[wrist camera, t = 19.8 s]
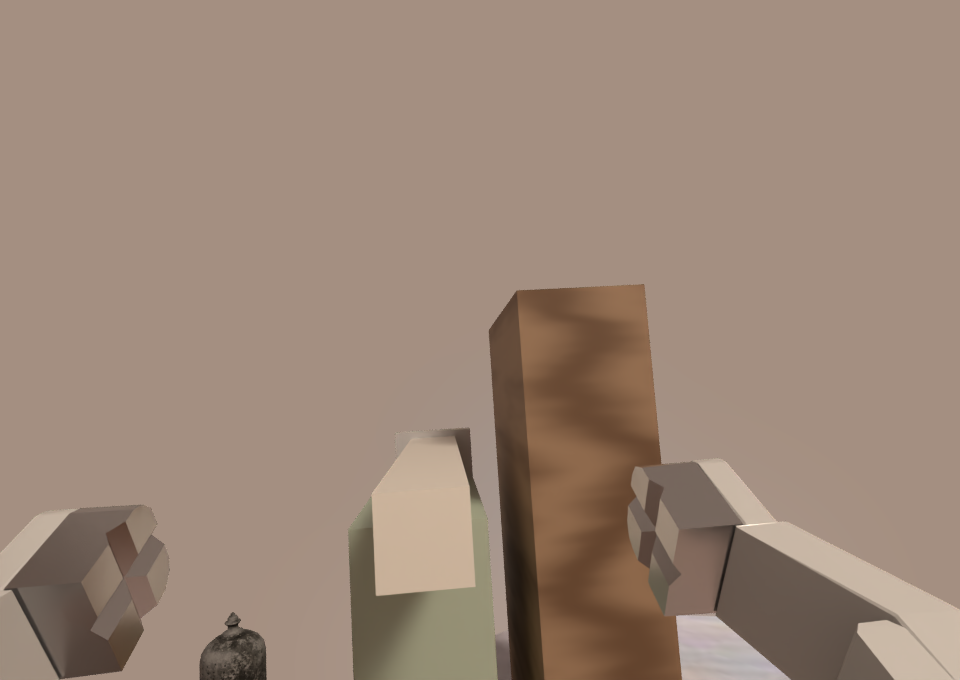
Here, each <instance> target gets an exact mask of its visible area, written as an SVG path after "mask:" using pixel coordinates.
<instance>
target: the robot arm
mask: <svg viewBox="0 0 960 680" xmlns="http://www.w3.org/2000/svg"><path fill="white" fill-rule="evenodd" d="M631 487H632V489H633V490H634V492H635V494H636V497H635V499H634V500H633V501H632V502H631V503H630V504H629V505H628V516H627V524H628V532H629V538H630V541H631V545H632V548H633V551H634V553H635V555H636V557H637V560H638V561H639V562H641V563H642V564H643V565H645V566H646V567H648V568H649V569H650V571H649V578H648V583H649V585H650V588H651V590H652V592H653V594H654V596H655V598H656V600H657V602H658V604H659V607H660V609H661V611H662V613H663V615H664V616H678V615H692V614H706V613H716V616H717V617H718V618H719V619H720V620H721V621H723V622H724V623H725V624H726V625H727V626H729V627H730V628H731V629H732V630H733V631H734V632H736V633H737V634H738V635H739V636H740V637H742V638H743V639H744V640H745V641H746V642H747V643H749V644H750V645H751V646H752V647H753V648H755V649H756V650H757V651H758V652H759V653H760V654H762V655H763V656H764V657H765V658H766V659H768V660H769V661H770V662H771V663H772V664H773V665H775V666H776V667H777V668H778V669H779V670H781V671H782V672H783V673H784V674H785V675H786V676H788V677H789V678H790V679H791V680H960V609H958V608H956V607H954V606H952V605H950V604H948V603H946V602H944V601H942V600H940V599H938V598H936V597H934V596H932V595H930V594H928V593H926V592H924V591H922V590H920V589H918V588H916V587H915V586H913V585H910V584H909V583H907V582H905V581H903V580H901V579H899V578H897V577H895V576H893V575H891V574H889V573H887V572H885V571H883V570H881V569H879V568H877V567H875V566H873V565H871V564H869V563H867V562H865V561H863V560H861V559H859V558H857V557H855V556H853V555H851V554H849V553H847V552H845V551H844V550H841V549H840V548H838V547H836V546H834V545H832V544H829V543H828V542H826V541H824V540H822V539H820V538H818V537H816V536H814V535H812V534H810V533H808V532H806V531H804V530H802V529H800V528H798V527H796V526H794V525H792V524H790V523H788V522H777V521H776V520H775V519H774V518H773V517H772V515H771V514H770V513H769V512H768V511H767V509H766V508H765V507H764V506H763V505H762V504H761V502H760V501H759V500H758V499H757V498H756V497H755V495H754V494H753V493H752V492H751V491H750V490H749V488H748V487H747V486H746V485H745V484H744V483H743V481H742V480H741V479H740V478H739V477H738V475H737V474H736V473H735V472H734V471H733V469H732V468H731V467H730V466H729V465H728V464H727V462H726V461H724V460H722V459H720V458H715V459H705V460H696V461H691V462H683V463H670V464H658V465H646V466H635V469H634V471H633V473H632V480H631ZM156 525H157V521H156V519H155V516H154V514H153V512H152V509H151V508H150V507H147V506H144V505H131V506H112V507H96V508H80V509H69V510H68V509H67V510H52V511H46V512H44V513H41V514H39V515H37V516H35V517H34V518H33V519H32V520H31V522H30V523H29V524H28V525H27V526H26V527H25V528H24V529H23V530H22V531H21V532H20V533H19V534H18V535H17V536H16V537H15V538H14V539H13V540H12V541H11V542H10V544H9V545H8V546H7V547H6V548H5V549H4V550H3V551H2V552H1V553H0V680H60V679H65V678H72V677H80V676H88V675H96V674H104V673H112V672H119V671H122V670H123V668H124V666H125V664H126V662H127V661H128V659H129V657H130V655H131V653H132V651H133V650H134V648H135V646H136V644H137V642H138V640H139V638H140V637H141V635H142V633H143V631H144V629H143V626H142V622H141V619H140V618H142V617H143V616H144V615H145V614H146V613H148V612H149V611H150V610H152V609H153V608H154V607H156V606H157V605H158V603H159V601H160V599H161V597H162V595H163V593H164V591H165V589H166V584H167V580H168V575H169V571H170V569H169V556H168V553H167V550H166V547H165V544H163V543H162V542H161V541H159V540H158V539H157V538H155V537H154V536H152V535H151V534H152V533H153V531H154V529H155V527H156Z"/></svg>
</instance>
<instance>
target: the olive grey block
mask: <svg viewBox="0 0 960 680" xmlns="http://www.w3.org/2000/svg"><path fill="white" fill-rule="evenodd" d="M468 483H469V486H470V502H471V519H472V536H473V552H474V569H475V586H476V587H468V588H457V589H446V590H435V591H424V592H413V593H403V594H392V595H381V596H376V585H375V562H374V538H373V514H372V497H371V498H370V499H369V501H368V502H367V504H366V505H365V506H364V508H363V509H362V511H361V512H360V513H359V515H358V516H357V518H356V519H355V521H354V522H353V523H352V525H351V526H350V528H349V529H348V539H349V565H350V590H351V591H350V592H351V618H352V644H353V672H354V680H498V677H497V661H496V645H495V629H494V614H493V597H492V583H491V566H490V550H489V534H488V518H487V516H486V513H485V510H484V507H483V504H482V502H481V499H480V496H479V493H478V491H477V488H476V485H475V482H474V479H468Z"/></svg>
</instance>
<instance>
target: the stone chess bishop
mask: <svg viewBox="0 0 960 680" xmlns="http://www.w3.org/2000/svg"><path fill="white" fill-rule="evenodd" d="M240 621H241V620H240V619H238V616H237V615H235V613H234V612H233V613H231V616H229V618H228V621H226V622H225V625H227V626H228V630H226V631H225V632H223V634H221V635H219V636H218V637H216V638H215V639H214V640H213V641H212V642H210V643H209V644H208V645H207V647H206V648H205V649H204V651H203V653H202V654H201V659H200V680H266V647H265V642H264V639H263V638H262V637H261V636H260V635H259V634H258V633H256V632H254V631H251V630H247V629H243V628H240V627H238V623H239V622H240Z"/></svg>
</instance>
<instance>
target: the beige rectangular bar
mask: <svg viewBox="0 0 960 680" xmlns="http://www.w3.org/2000/svg"><path fill="white" fill-rule="evenodd" d="M395 443H396V461H395V462H394V463H393V465H392V466H391V468H390V469H389V470H388V472H387V473H386V475H385V476H384V477H383V479H382V480H381V481H380V483H379V484H378V486H377V487H376V488H375V490H374V491H373V493H372V514H373V538H374V562H375V585H376V596H381V595H392V594H403V593H413V592H424V591H435V590H446V589H457V588H468V587H476V586H475V569H474V552H473V536H472V519H471V502H470V486H469V483H468V479H473V474H472V457H471V442H470V428H456V429H442V430H427V431H412V432H397V433H395Z"/></svg>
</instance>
